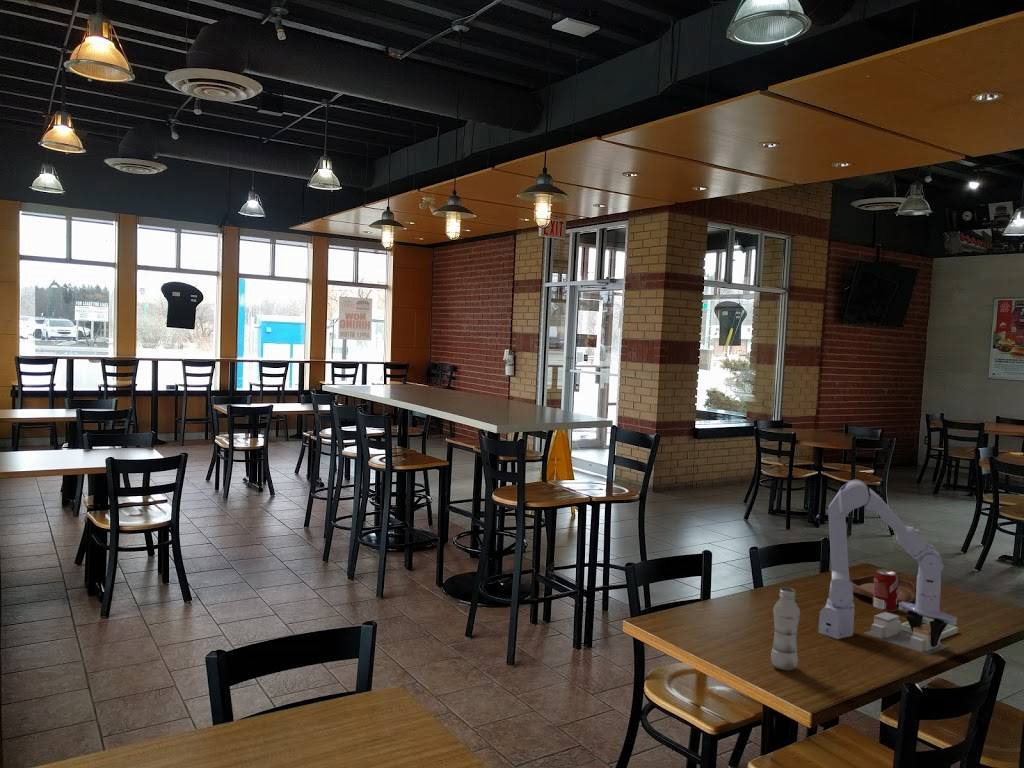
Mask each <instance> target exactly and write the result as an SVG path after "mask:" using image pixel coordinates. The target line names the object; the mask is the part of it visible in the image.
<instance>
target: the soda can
mask: <svg viewBox="0 0 1024 768" xmlns="http://www.w3.org/2000/svg"><path fill="white" fill-rule="evenodd" d="M874 575H875V576H874V591H873V598H872V607H873V608H875V609H877V610H881V611H885V612H893V613H894V612H896V611H897V609H898V606H897V593H898V578H899V577H898V576H897V572H895V571H893V570H889V569H877V570H876V573H874ZM897 577H898V578H897Z"/></svg>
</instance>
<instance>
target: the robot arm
mask: <svg viewBox="0 0 1024 768" xmlns="http://www.w3.org/2000/svg"><path fill="white" fill-rule="evenodd" d="M863 506H864V509H865V510H868V511H871V512H875V513H876V514H877V515H878V516H879V518H881V519H882V520H883V521H884V522H885V523H886V525H888V526H889V528H890V529H892V530H893V532H895V540H896V542H897V543H898V544H899V545H900V546H901V547H902V548H903V549H904V550H905V552H907V554H908V555H910V557H911V558H912V559H915V560H916V561H917V563H918V571H917V575H916V586H915V588H916V599H915V603H906V602H900V603H899V606H898V610H900V611H906V612H907V613H906V614H905V618H906V620H907V622H909V624H910V627H911V630H912V633H911V635H913V628H914V627H917V626H920V625H923V623H922V619H923V617H925V618H928V619H931V620H934V621H930V625H929V626H930V627H931V646H932V647H935V646H937V644H938V640H939V638H940V635H941V633H942V632H943V631H945V629H944V628H945V627H946V626H947V624H948V625H951V626H956V625H957V621H958V617H957V616H953V615H951V614H948V613H947V612H944V611H941V610H940V606H941V605H940V603H941V586H942V579H941V576H942V573H941V572H942V571H943V570H944V565H945V564H943V563H944V562H943V559H942V557H941V554H940V553H939V552H938V549H935V545H933V544H931V543H929V542H928V541H927V540H926V539H925V538H924V537H923V536H922V532H921V530H920V529H919V528H917V529H916V528H915V527H914V526H909V525H906V524H905V523H903V522H902V521H903V520H901V519H900V518H899V517H898V516H897V514H896V513H895V512H894V511H893V510H892V509H891V507H890V506H888V504H887V503H886V502H885V500H884V499H882V497H881V496H880V495H878V494H877V493H876V492H875V491H874V490H873V489H871V488H870V487H868V485H867V484H866V483H865V482H864V481H862V480H861V479H852V480H849V481H848V482H846V483H845V484H843V485H842V486H841V487H840V488H839V490H838V491H837V493H836V495H835V496H834V498H833V499H832V501H831V502H830V504H829V505H828V509H827V516H828V530H829V531H828V532H829V548H830V551H829V553H830V566H831V568H830V569H831V580H830V582H829V583H830V584H829V591H828V597H827V599H826V604H825V606H824V607H823V608H821V610H820V611H819V617H818V619H819V620H818V633H819V634H821V635H824V636H827V637H830V638H833V639H835V640H840V639H843V638H849V637H853V636H854V623H855V605H856V604H855V602H853V600H854V592H853V589H854V588H853V584H852V582H851V581H850V579H851V577H850V571H849V569H850V568H849V556H848V555H849V553H848V538H847V523H846V520H847V518H846V516H847V515H849V514H850V513H851V512H852V511H854V510H855V509H858V508H861V507H863Z"/></svg>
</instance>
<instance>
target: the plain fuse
mask: <svg viewBox="0 0 1024 768" xmlns="http://www.w3.org/2000/svg"><path fill="white" fill-rule="evenodd" d="M899 621H900V616H899V615H897V614H894V613H890V612H888V611H885V612H880V613H878V614H875V615H873V624H874V623H875V624H878V625H881V626H884V627H885V636H884V637H890V636H893V635H895V634H898V629H899Z"/></svg>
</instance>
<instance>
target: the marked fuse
mask: <svg viewBox="0 0 1024 768" xmlns="http://www.w3.org/2000/svg"><path fill="white" fill-rule="evenodd" d="M912 635H913V636H915V637H918V638H921V639H924V640H925V648H924V650H925V651H928V650H931V649H933V648H936V647H938V644H937V646H935V647H932V646H931V627H930V625H928V624H925V623H922V624H921V625H920V626H917V627H914V628H913V634H912ZM938 641H939V640H938Z"/></svg>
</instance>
